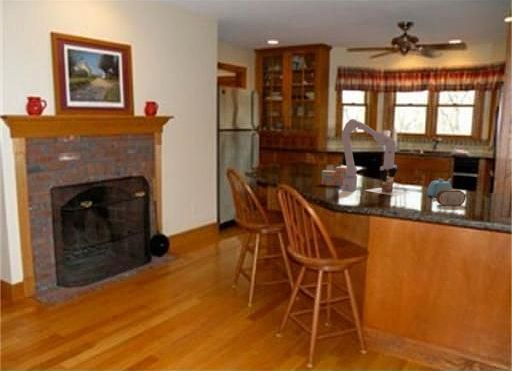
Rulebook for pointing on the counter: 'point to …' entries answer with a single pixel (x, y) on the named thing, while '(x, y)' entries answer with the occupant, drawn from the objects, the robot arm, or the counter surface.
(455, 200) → the tin
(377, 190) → the board
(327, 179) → the stack of blocks
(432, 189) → the teapot
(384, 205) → the counter surface
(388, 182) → the maple block
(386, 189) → the walnut block
